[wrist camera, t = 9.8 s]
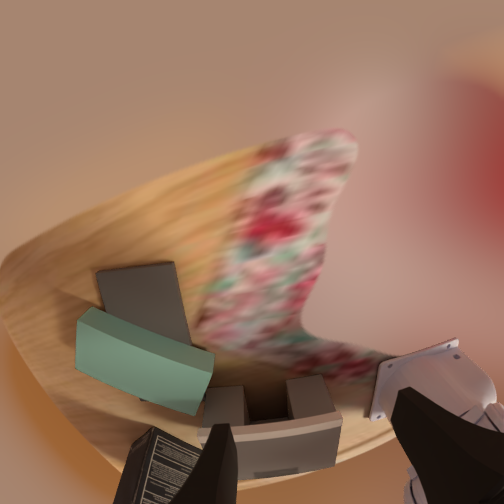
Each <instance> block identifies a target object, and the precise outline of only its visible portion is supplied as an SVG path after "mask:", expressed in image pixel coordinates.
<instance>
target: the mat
mask: <svg viewBox="0 0 504 504" xmlns="http://www.w3.org/2000/svg"><path fill="white" fill-rule="evenodd" d="M95 274H96V278H97V281H98V285H99V289H100V292H101V296H102V299H103V303H104V306H105V309H106V313H108V314H110V315H112V316H115V317H117V318H119V319H122V320H124V321H126V322H129V323H131V324H134V325H136V326H139V327H141V328H144V329H146V330H149V331H151V332H154V333H156V334H159V335H162V336H164V337H167V338H170V339H172V340H175V341H178V342H181V343H184V344H187V345H189V346H192V347H193V345H192V341H191V337H190V333H189V329H188V325H187V321H186V317H185V312H184V308H183V303H182V299H181V294H180V289H179V285H178V280H177V275H176V270H175V264H174V262H168V263H160V264H152V265H143V266H135V267H127V268H119V269H111V270H102V271H98V272H97V273H95ZM139 399H140V401H147V400H144V399H142V398H139ZM205 400H206V393H204V396H203V398H202V400H201V401H205Z"/></svg>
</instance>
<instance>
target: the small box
mask: <svg viewBox="0 0 504 504" xmlns="http://www.w3.org/2000/svg"><path fill="white" fill-rule="evenodd" d="M201 452H202V450H200V449H198V448H196V447H193V446H191V445H189V444H187V443H185V442H183V441H181V440H179V439H177V438H175V437H173V436H171V435H169V434H167V433H165V432H163V431H162V430H160V429H158V428H156V427H152V428H151V429H149V431H148V432H146V434H144V435H143V436H142V437H141V438H139V439H138V440H137V441H135V442H134V443H133V445H131V448H130V451H129V454H128V457H127V460H126V464H125V466H124V470H123V473H122V476H121V479H120V482H119V486H118V489H117V492H116V496H115V499H114V502H113V504H168V503H169V502H170V501H171V500H172V498H173V497H174V496H175V495H176V493H177V492H178V491H179V489H180V488H181V487H182V485H183V484H184V482H185V481H186V479H187V477H188V476H189V474H190V473H191V471H192V469H193V468H194V466H195V464H196V462H197V460H198V458H199V456H200V454H201Z"/></svg>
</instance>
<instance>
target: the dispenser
mask: <svg viewBox="0 0 504 504" xmlns="http://www.w3.org/2000/svg"><path fill="white" fill-rule="evenodd" d="M286 391H287V406H288V417H284V418H277V419H269V420H260V421H251V422H250V419H249V414H248V408H247V403H246V398H245V393H244V388H243V385H241V386H230V387H216V388H207V392H206V400H205V407H204V415H203V422H202V428H198V433H197V438H198V440H199V442H200V443H201V446H202V448H204V446H205V444H206V441H207V439H208V436H209V434H210V431H211V428H212V426H213V425H214V424H223V423H229V424H230V427H231V431H232V434H233V438H234V441H235V445H236V448H237V457H238V480H247V479H260V478H270V477H278V476H286V475H292V474H299V473H304V472H310V471H315V470H320V469H325V468H329V467H333V466H335V461H336V456H337V450H338V444H339V438H340V432H341V426H342V422H343V417H342V415H341V412H340V411H336V409H335V407H334V404H333V402H332V399H331V397H330V394H329V392H328V389H327V387H326V384H325V382H324V379H323V377H322V374H319V375H313V376H308V377H302V378H296V379H290V380H286Z"/></svg>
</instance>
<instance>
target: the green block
mask: <svg viewBox="0 0 504 504" xmlns="http://www.w3.org/2000/svg"><path fill="white" fill-rule="evenodd" d="M214 359H215V354H214V353H211V352H208V351H204V350H201V349H198V348H195V347H192V346H189V345H187V344H184V343H181V342H178V341H175V340H172V339H170V338H167V337H164V336H162V335H159V334H156V333H154V332H151V331H149V330H146V329H144V328H141V327H139V326H136V325H134V324H131V323H129V322H126V321H124V320H122V319H119V318H117V317H115V316H112V315H110V314H108V313H106V312H104V311H101V310H99V309H97V308H95V307H93V306H92V307H90V308H89V309H88V310H87V311H86V312H85V313H84V314H83V315H82V316H81V317H80V318H79V319H78V320H77V331H76V356H75V369H77V370H79V371H81V372H83V373H85V374H87V375H89V376H91V377H93V378H95V379H97V380H99V381H101V382H104V383H106V384H108V385H110V386H112V387H115V388H117V389H119V390H122V391H124V392H127V393H129V394H131V395H134V396H137V397H139V398H142V399H144V400H147V401H150V402H152V403H155V404H158V405H161V406H164V407H167V408H170V409H173V410H176V411H179V412H182V413H186V414H189V415H192V416H195V415H196V412H197V410H198V408H199V405H200V403H201V400H202V398H203V396H204V393H205V391H206V388H207V386H208V384H209V381H210V379H211V376H212V374H213V367H214Z"/></svg>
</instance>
